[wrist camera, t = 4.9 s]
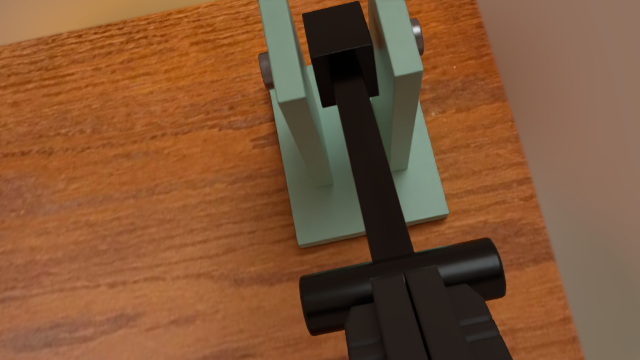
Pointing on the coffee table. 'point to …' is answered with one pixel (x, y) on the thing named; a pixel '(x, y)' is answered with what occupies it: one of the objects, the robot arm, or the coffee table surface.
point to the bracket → (326, 131)
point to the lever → (374, 183)
